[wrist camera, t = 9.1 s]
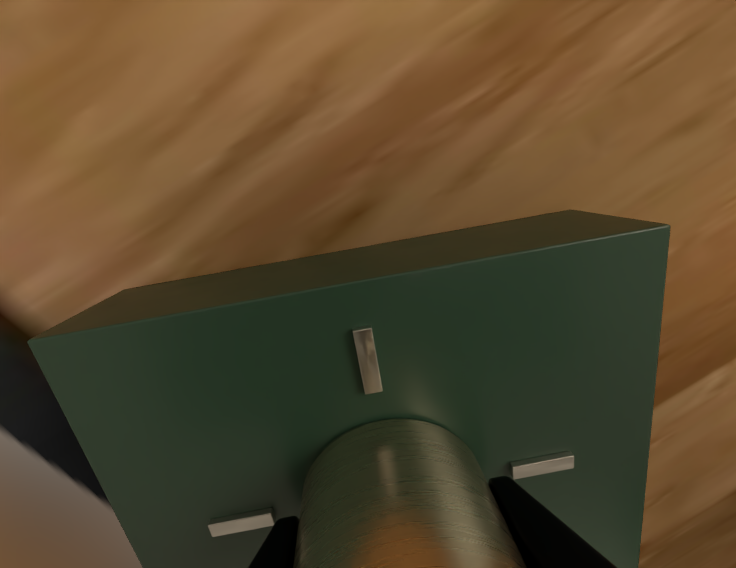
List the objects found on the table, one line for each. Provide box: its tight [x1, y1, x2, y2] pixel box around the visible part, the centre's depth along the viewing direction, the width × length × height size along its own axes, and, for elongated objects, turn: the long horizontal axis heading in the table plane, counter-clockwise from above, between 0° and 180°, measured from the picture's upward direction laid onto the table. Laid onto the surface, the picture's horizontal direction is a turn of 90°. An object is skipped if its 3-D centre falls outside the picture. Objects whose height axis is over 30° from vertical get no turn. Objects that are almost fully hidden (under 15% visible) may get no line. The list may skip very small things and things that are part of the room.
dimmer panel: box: [28, 210, 670, 568], centre depth 9 cm, size 12×10×3 cm
